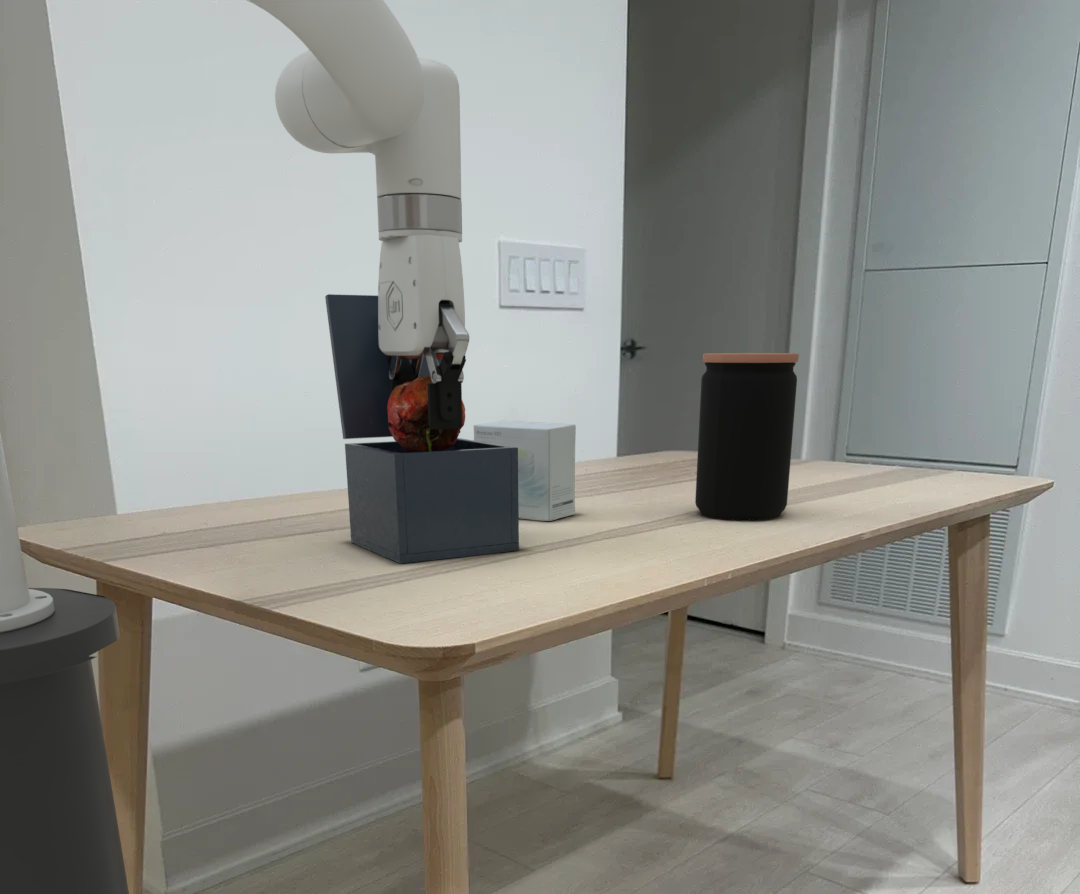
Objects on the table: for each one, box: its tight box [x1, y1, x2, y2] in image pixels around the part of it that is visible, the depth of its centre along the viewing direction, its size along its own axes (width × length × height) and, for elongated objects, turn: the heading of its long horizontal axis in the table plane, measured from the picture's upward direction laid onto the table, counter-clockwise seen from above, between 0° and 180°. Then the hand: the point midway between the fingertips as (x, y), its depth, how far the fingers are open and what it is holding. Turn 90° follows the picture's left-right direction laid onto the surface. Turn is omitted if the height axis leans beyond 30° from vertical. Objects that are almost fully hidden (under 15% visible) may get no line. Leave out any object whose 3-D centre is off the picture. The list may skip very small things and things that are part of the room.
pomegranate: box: [387, 376, 466, 452], centre depth 96 cm, size 7×7×10 cm
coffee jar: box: [694, 352, 800, 522], centre depth 117 cm, size 11×11×18 cm
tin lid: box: [324, 293, 461, 440], centre depth 102 cm, size 13×13×1 cm
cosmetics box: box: [473, 420, 577, 522], centre depth 119 cm, size 10×6×10 cm, turn 58°
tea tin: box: [344, 437, 520, 565], centre depth 100 cm, size 13×13×10 cm
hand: (426, 424), depth 97 cm, fingers closed on pomegranate, 7 cm apart
